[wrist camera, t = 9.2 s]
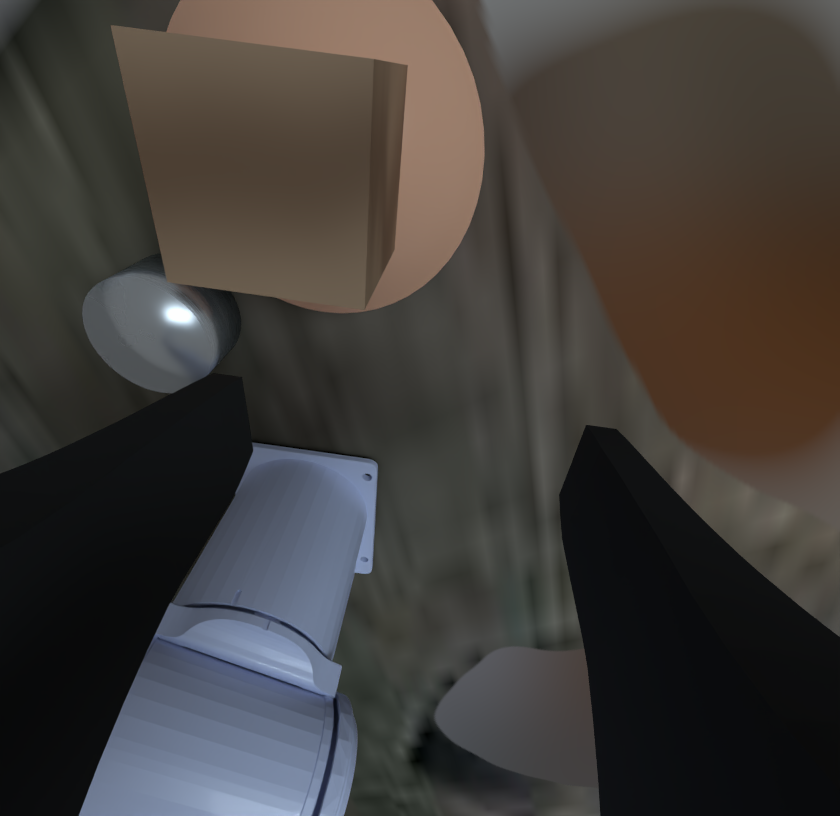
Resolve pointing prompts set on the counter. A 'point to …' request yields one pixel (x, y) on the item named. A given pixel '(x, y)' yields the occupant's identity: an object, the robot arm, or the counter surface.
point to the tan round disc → (423, 116)
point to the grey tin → (159, 326)
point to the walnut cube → (267, 163)
